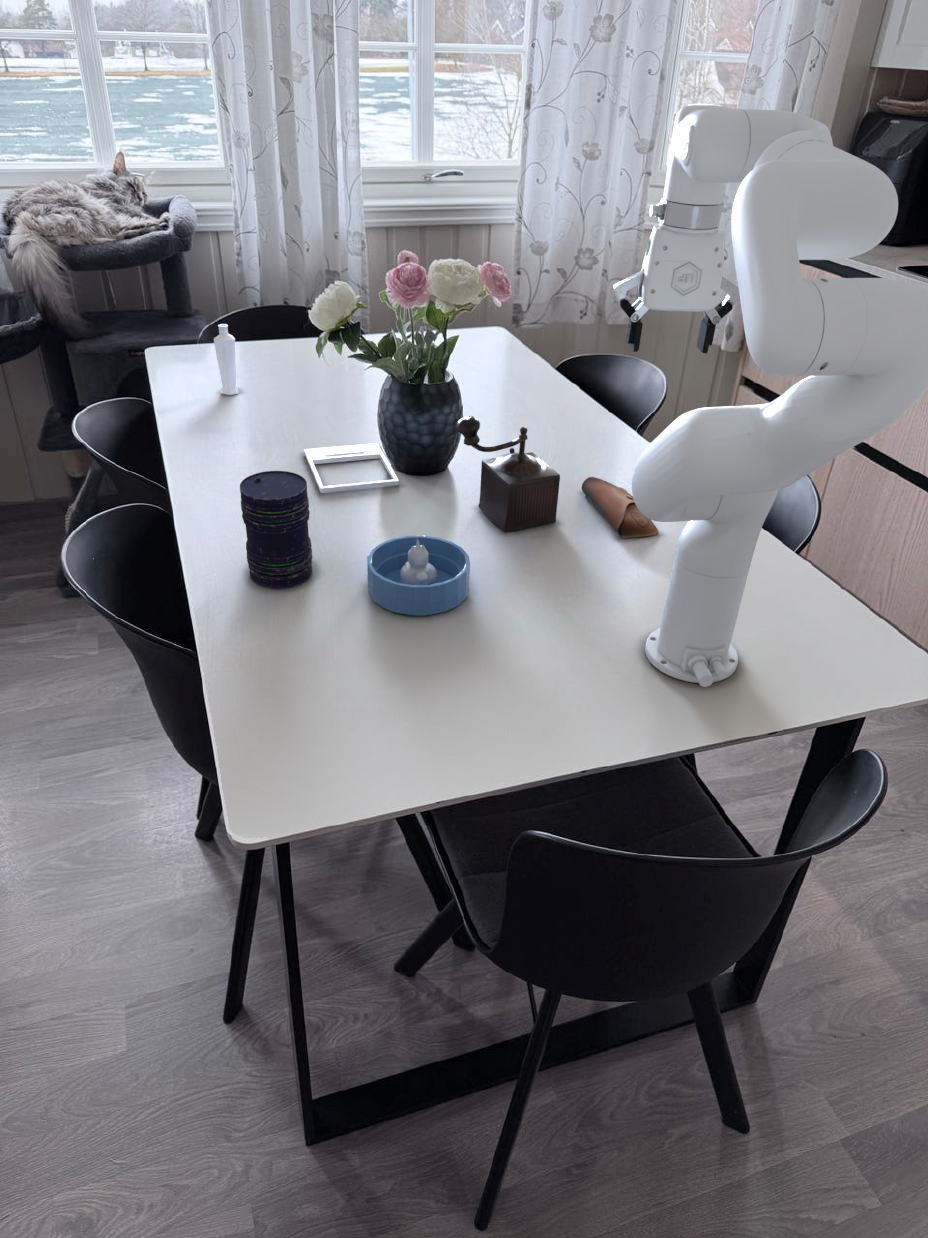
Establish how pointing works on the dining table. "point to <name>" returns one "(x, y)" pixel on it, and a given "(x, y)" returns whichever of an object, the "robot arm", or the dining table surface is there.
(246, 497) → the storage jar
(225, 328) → the perfume bottle
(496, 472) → the manual coffee grinder
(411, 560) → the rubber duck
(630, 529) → the sunglasses case
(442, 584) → the bowl
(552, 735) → the dining table surface
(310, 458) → the photo frame
